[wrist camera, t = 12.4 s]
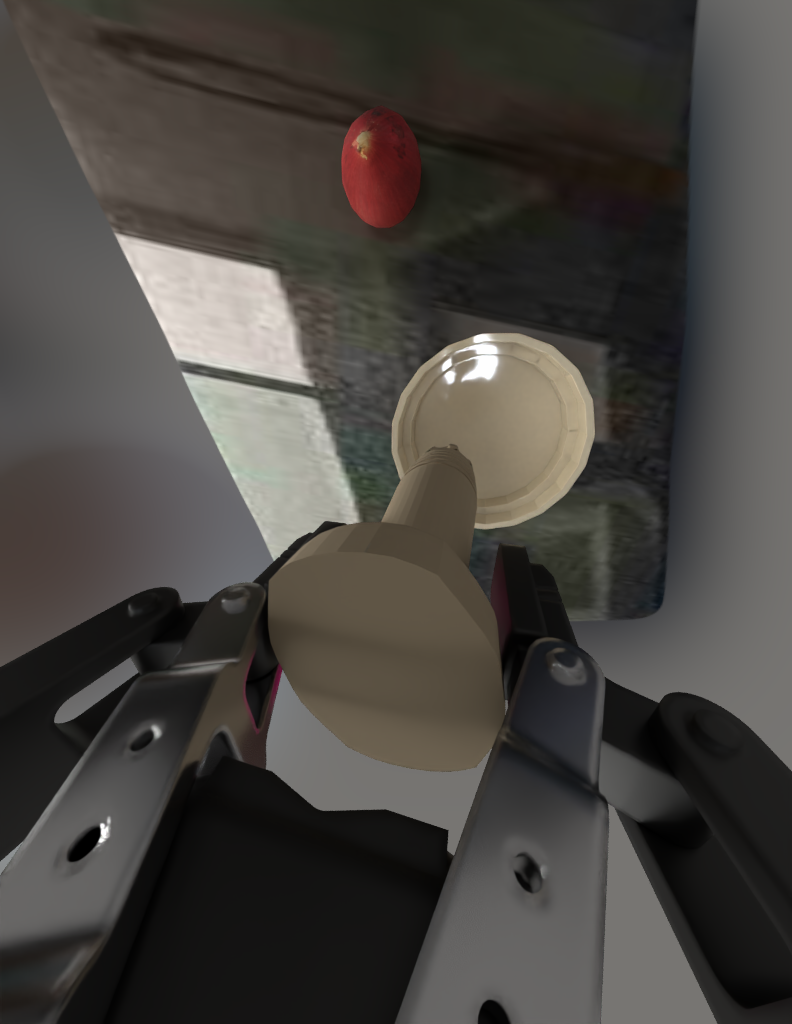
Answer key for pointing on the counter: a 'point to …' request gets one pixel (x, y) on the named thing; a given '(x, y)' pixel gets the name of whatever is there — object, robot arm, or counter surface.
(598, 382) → the counter surface
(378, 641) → the handle
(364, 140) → the onion
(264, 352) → the counter surface
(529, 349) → the bowl
